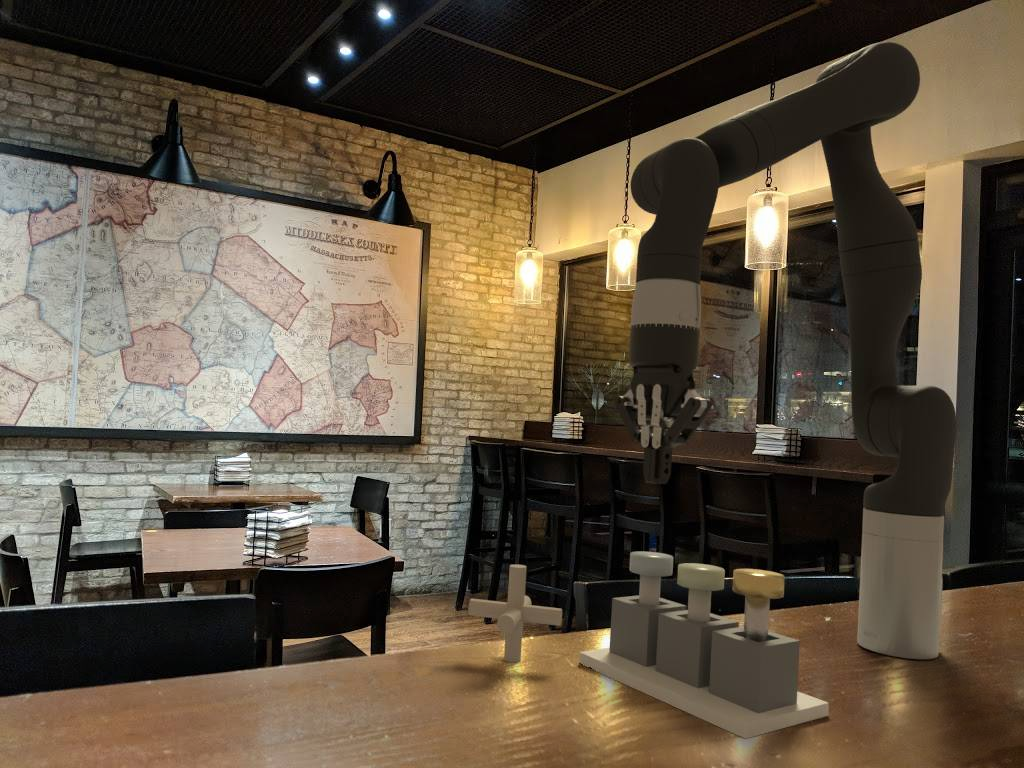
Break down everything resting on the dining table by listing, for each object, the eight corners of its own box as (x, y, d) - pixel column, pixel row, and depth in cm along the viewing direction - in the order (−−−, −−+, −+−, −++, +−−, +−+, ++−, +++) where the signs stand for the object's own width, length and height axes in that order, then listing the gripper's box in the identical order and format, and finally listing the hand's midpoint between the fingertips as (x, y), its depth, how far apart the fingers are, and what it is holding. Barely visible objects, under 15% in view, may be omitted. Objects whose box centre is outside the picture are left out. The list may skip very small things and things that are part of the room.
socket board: (658, 650, 92) (661, 590, 93) (828, 715, 74) (831, 640, 75) (579, 663, 85) (582, 597, 86) (745, 738, 67) (749, 655, 68)
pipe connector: (551, 680, 79) (557, 579, 80) (455, 667, 81) (461, 569, 82) (564, 652, 89) (569, 562, 90) (478, 641, 91) (484, 554, 92)
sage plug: (695, 641, 83) (699, 562, 84) (730, 654, 79) (734, 570, 80) (664, 646, 81) (668, 564, 81) (698, 659, 77) (703, 573, 77)
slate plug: (647, 625, 89) (651, 550, 89) (678, 635, 85) (682, 558, 86) (617, 629, 86) (621, 552, 87) (647, 640, 83) (651, 560, 83)
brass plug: (750, 653, 78) (754, 567, 78) (790, 666, 74) (794, 577, 74) (718, 658, 75) (723, 570, 75) (759, 673, 71) (763, 580, 71)
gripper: (735, 326, 84) (726, 490, 83) (646, 332, 95) (638, 477, 94) (687, 317, 80) (677, 490, 79) (599, 324, 90) (590, 476, 90)
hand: (655, 483), depth 86 cm, fingers closed
